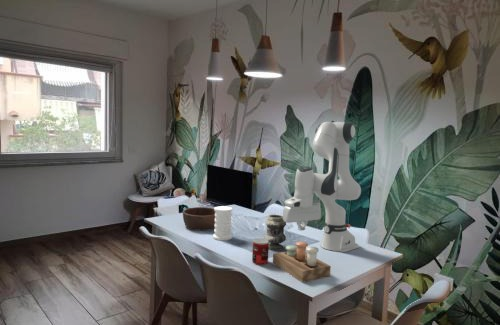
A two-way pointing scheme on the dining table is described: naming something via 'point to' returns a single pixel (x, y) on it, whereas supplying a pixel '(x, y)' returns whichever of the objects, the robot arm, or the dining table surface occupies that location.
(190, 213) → the wooden bowl
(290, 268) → the walnut board
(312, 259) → the cream plunger
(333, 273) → the dining table surface
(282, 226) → the apothecary jar
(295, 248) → the sage plunger
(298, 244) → the peach mushroom knob
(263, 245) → the canned food
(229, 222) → the decorative container
